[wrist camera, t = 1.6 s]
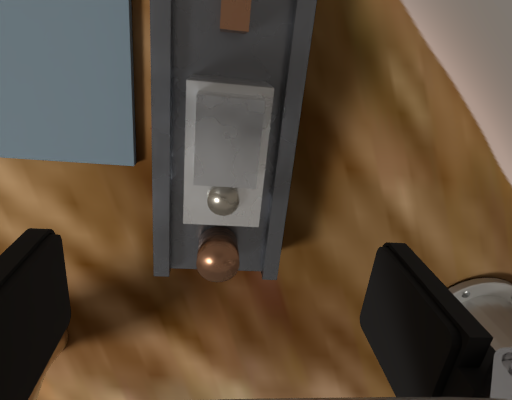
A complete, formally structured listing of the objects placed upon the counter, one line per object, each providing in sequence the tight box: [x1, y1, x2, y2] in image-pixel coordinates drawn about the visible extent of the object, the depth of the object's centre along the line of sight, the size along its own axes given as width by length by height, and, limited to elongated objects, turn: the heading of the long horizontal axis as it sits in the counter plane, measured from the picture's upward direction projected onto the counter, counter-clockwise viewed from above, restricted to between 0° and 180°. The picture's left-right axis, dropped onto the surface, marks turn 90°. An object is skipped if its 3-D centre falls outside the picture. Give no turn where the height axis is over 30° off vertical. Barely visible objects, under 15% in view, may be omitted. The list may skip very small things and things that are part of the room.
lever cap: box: [183, 74, 274, 227], centre depth 23 cm, size 9×5×6 cm, turn 174°
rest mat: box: [0, 0, 136, 166], centre depth 26 cm, size 12×12×1 cm
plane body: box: [150, 0, 317, 282], centre depth 26 cm, size 22×10×7 cm, turn 174°
